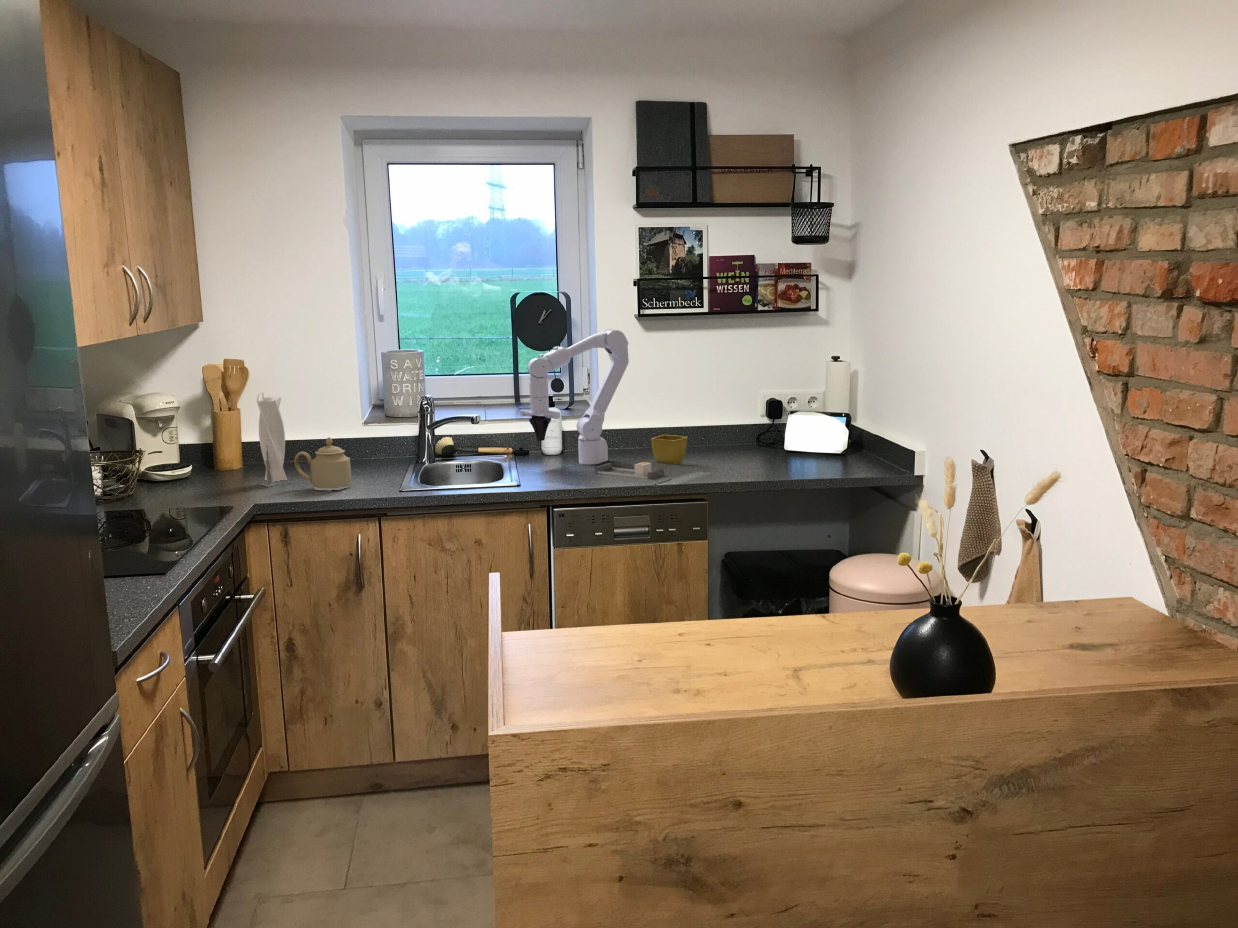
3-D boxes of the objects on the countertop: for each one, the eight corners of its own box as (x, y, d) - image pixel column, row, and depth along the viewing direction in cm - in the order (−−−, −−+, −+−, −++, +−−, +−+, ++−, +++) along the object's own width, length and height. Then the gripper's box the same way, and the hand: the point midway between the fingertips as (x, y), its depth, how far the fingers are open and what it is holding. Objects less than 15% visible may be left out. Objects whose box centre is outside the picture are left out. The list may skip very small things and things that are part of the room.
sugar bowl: (303, 494, 275) (299, 442, 272) (295, 488, 284) (291, 437, 282) (356, 488, 282) (352, 437, 279) (346, 482, 291) (343, 433, 289)
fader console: (605, 472, 298) (605, 462, 297) (671, 479, 284) (671, 469, 283) (587, 477, 290) (587, 466, 290) (654, 485, 277) (654, 474, 276)
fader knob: (643, 473, 287) (642, 461, 286) (651, 474, 285) (651, 462, 284) (634, 476, 283) (634, 464, 282) (643, 477, 281) (642, 464, 281)
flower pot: (688, 464, 308) (688, 436, 306) (675, 468, 301) (674, 440, 299) (664, 462, 313) (664, 434, 311) (650, 466, 306) (650, 438, 304)
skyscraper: (255, 485, 292) (247, 392, 287) (280, 480, 298) (272, 390, 293) (269, 488, 287) (261, 394, 281) (294, 484, 292) (286, 391, 287)
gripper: (512, 397, 301) (514, 440, 303) (549, 399, 292) (550, 443, 295) (527, 395, 306) (529, 437, 309) (563, 397, 298) (565, 440, 300)
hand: (540, 440), depth 302 cm, fingers closed
